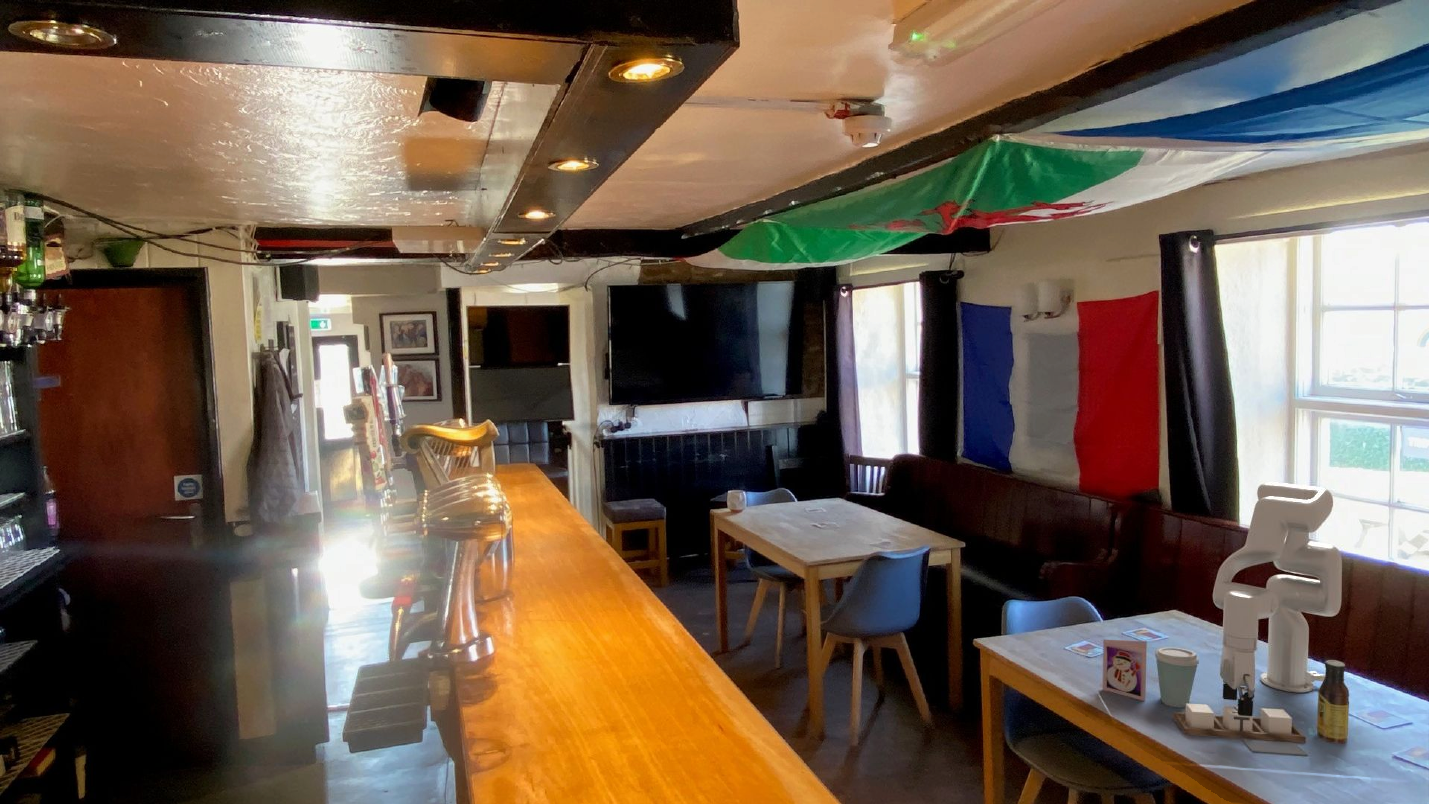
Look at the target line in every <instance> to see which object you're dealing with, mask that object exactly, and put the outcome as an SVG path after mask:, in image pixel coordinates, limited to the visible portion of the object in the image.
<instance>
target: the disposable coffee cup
mask: <svg viewBox="0 0 1429 804" xmlns="http://www.w3.org/2000/svg"><path fill="white" fill-rule="evenodd" d="M1154 657H1155V659H1156V666H1157V678H1158V683H1159V684H1158V685H1159V693H1160V694H1159V695H1160V701H1161V702H1162V703H1163V704H1164V705H1167V706H1170V707H1174V708H1186V703H1188V704H1190V699H1191V695H1192V690H1193V687H1194V686H1193V685H1194V681H1195V676H1196V671H1197V668H1198V665H1199V664H1200V663H1199V657H1198V655H1197V653H1196V652H1195V651H1193V650H1190V649H1186V648H1182V647H1173V646H1172V647H1171V646H1170V647H1160V648H1158V649H1157V650H1155V653H1154Z"/></svg>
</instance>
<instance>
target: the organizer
mask: <svg viewBox="0 0 1429 804" xmlns="http://www.w3.org/2000/svg"><path fill="white" fill-rule="evenodd" d="M1172 718H1173V719H1174V721H1175V722H1176V724H1177V726H1178V727H1179V728H1180V729H1181V732H1182V733H1184V735H1189V736H1199V737H1200V736H1202V737H1213V738H1214V737H1216V738H1217V737H1218V738H1230V739H1246V740H1261V741H1275V742H1289V743H1301V744H1303V743H1304V744H1306V743H1307V736H1306V735H1305V734H1304V733H1302V731H1301V730H1299V728H1297V727H1296V725H1295V724H1293V723H1292V728H1291V734H1278V733H1265V731H1264V730H1263V729H1262V728H1261V727H1260V726H1261V717H1255V716H1253V721H1252V732H1249V731H1234V730H1227V729H1226V728H1225V727H1224V726H1223V714H1214V729H1205V728H1190V727H1189V726H1188V725H1187V723H1186V722H1185V720H1186V712H1181V711H1180V712H1178V711H1173V712H1172Z"/></svg>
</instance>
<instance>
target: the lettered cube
mask: <svg viewBox="0 0 1429 804" xmlns="http://www.w3.org/2000/svg"><path fill="white" fill-rule="evenodd" d="M1222 707H1223V708H1222V715H1223V726H1224V727H1225V728H1226V729H1227V730H1234V731H1249V732H1252V721H1253V717H1254V715H1252V716H1241V715H1238V706H1233V705H1230V706H1229V705H1223V706H1222Z"/></svg>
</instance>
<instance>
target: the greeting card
mask: <svg viewBox="0 0 1429 804" xmlns="http://www.w3.org/2000/svg"><path fill="white" fill-rule="evenodd" d="M1147 642H1148V641H1146V640H1144V641H1143V640H1126V639H1125V640H1123V639H1122V640H1121V639H1103V648H1102V651H1103V652H1102V653H1103V654H1102V691H1105V692H1106V691H1107V692H1111V693H1115V694H1118V695H1122V696H1125V697H1129V698H1133V699H1137V700H1140V701H1144V702H1146V690H1147V688H1146V687H1147V686H1146V685H1147V683H1146V681H1147V651H1148V649H1147V647H1148V646H1147V644H1148V643H1147Z"/></svg>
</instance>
